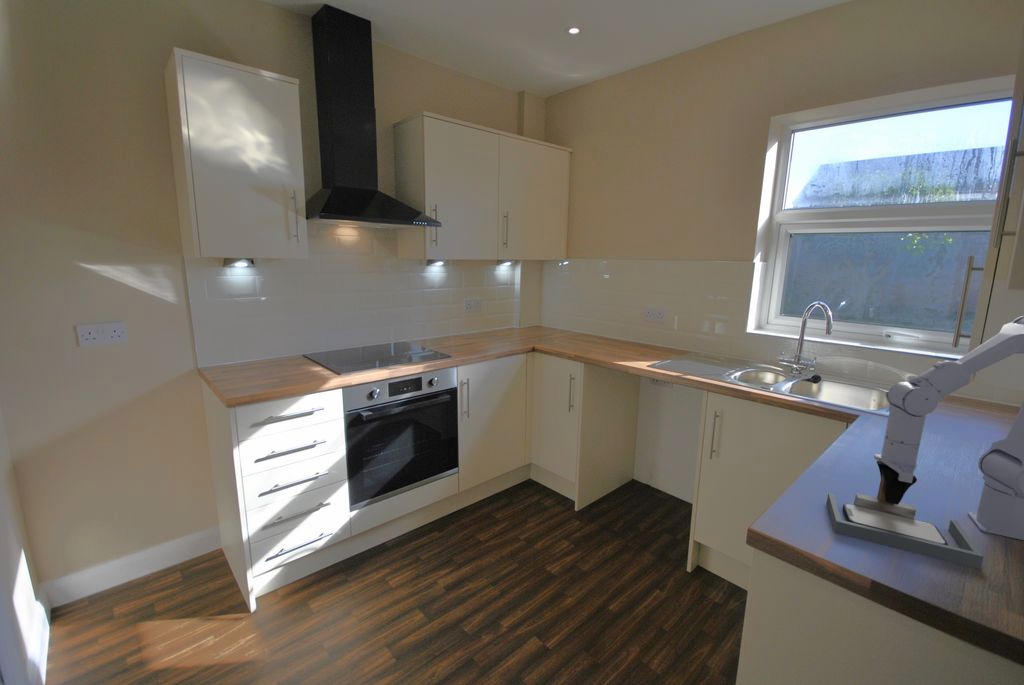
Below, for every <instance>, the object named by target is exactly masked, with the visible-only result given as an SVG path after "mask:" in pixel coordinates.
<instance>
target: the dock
mask: <svg viewBox="0 0 1024 685" xmlns="http://www.w3.org/2000/svg"><path fill="white" fill-rule="evenodd" d="M826 506H827V510H828V513H829V518H830V521H831V525H832V528H833V532H834V534H835V533H836V534H839V535H843V536H847V537H851V538H855V539H859V540H863V541H868V542H870V543H871V542H872V543H874V544H879V545H883V546H887V547H892V548H894V549H900V550H903V551H907V552H911V553H915V554H919V555H923V556H927V557H932V558H935V559H939V560H943V561H947V562H951V563H955V564H959V565H962V566H967V567H971V568H973V569H974V568H976V569H980V570H981V569H982V564H983V561H984V555H983V554H982V553H981V551H980V550H979V549H978V547H977V546H976V544H975V543H974V542H973V540H972V539H971V538H970V536H969V535H968V533H967V532H966V531H965V529H964V528H963V527H962V526H961V524H960V523H959V522H958V520H954V519H950V521H949V526H948V529H947V531H948V533H949V534H950V535H951V537H952V538H953V541H955V543H956V544H957V546H958V547H955V546H951V545H949V544H948V545H943V544H939V543H935V542H931V541H927V540H923V539H918V538H914V537H910V536H906V535H902V534H897V533H893V532H889V531H885V530H881V529H876V528H872V527H868V526H864V525H860V524H855V523H851V522H847V521H846V520H843V519H842V517H841V513H840V510H839V508H838V503H837V501H836V498H835V495H834V493H831V492H828V494H827V498H826Z"/></svg>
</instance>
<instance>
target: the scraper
mask: <svg viewBox="0 0 1024 685" xmlns="http://www.w3.org/2000/svg"><path fill="white" fill-rule="evenodd" d="M877 492H878V493H877V496H876V497H875V496H871V495H866V494H862V493H858V492H856V493H855V497H854V501H853V505H855V506H859V507H864V508H868V509H872V510H876V511H880V512H885V513H889V514H893V515H897V516H902V517H906V518H910V519H914V520H915V515H916V512H917V510H916V508H915V506H914V505H913V504H908V503H903V502H900V503H899V504H898V505H897V504H892V503H888V502H886V501H885V481H884V476H883V473H882V477H881V476H880V482H879V487H878V491H877Z"/></svg>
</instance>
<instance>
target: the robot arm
mask: <svg viewBox="0 0 1024 685" xmlns="http://www.w3.org/2000/svg"><path fill="white" fill-rule="evenodd" d="M1017 354H1021V355H1022V354H1024V315H1022V316H1021V315H1020V316H1018V317H1017V318H1015V319H1013V321H1011V322H1008V323H1006V324H1003V326H1002V327H1001V328H1000V331H999V332H998V333H997V334H995V335H994V336H992V337H991V338H989V339H987V340H986V341H985V342H984V343H982V344H980V345H979V346H977V347H976V348H974V349H972V350H971V351H970V352H968V353H966V354H965V355H963V356H962V357H960V358H959V359H958V360H957V359H956V361H953V360H943V361H937V362H934V363H933V364H932V367H931V368H928V369H927V370H926V371H924V372H922V373H921V374H920V373H919V375H917V376H915V375H914V376H913V377H911V378H910V379H909V381H899V382H897V383H895V384H893V385H892V386H891V387H890V388H889V391H885V399H886V401H887V403H888V404H889V409H888V411H889V414H888V418H887V423H886V429H885V434H884V438H883V444H882V449H881V453H880V454H879V453H874V454H873V458H874V460H876V465H877V467H878V469H879V475H880V478H881V477H882V473H883V476H884V481H885V501H886V502H888V503H892V504H897V505H898V504H899V503H901V502H902V500H903V497H904V495H906V492H907V491H908V490H909V489H910V487H912V486H913V485H914V484H915V483H917V480H918V478H917V477H916V476H915V474H914V472H915V470H916V468H918V467H917V466H918V464H917V461H918V455H919V451H920V445H921V440H922V438H923V437H922V436H923V431H924V426H925V421H926V417H927V415H928V414H931V413H933V412H934V411H935V410H936V409H937V406H938V405H939V403H940V402H941V401H942V399H943V398H946V397H947V396H949V395H951V394H953V393H955V392H957V391H959V390H960V389H962V388H964V387H965V386H968V385H969V384H970V383H971V380H972V379H971V378H972V375H974V374H976V373H978V372H980V371H982V370H984V369H986V368H989V367H991V366H992V365H995V364H996V363H999V362H1000V361H1003V360H1005V359H1006V358H1007V359H1008V358H1009V357H1011V356H1013V355H1017ZM1006 436H1007V437H1006V438H1004V439H1000V440H996V441H994V442H992V443H991V444H990V445H991V446H990V447H989V448H988V449H987V451H985V452H984V453H983V454H982V455H981V456H980V458H979V460H978V462H977V463H978V464H977V465H978V466H977V467H978V469H979V471H980V472H981V473H982V474H983V476H982V479H983V480H984V483H983V486H982V491H981V495H980V499H979V503H978V507H977V511H976V512H975V511H967V515H968V516H969V517H970V519H971V520H972V521H973V522H974V524H975V525H976V526H977V527H978V529H979V530H980V531H982V532H984V533H989V534H993V535H998V536H1003V537H1007V538H1011V539H1017V540H1021V541H1024V401H1023V402H1022V405H1021V406H1020V409H1019V410H1018V413H1017V415H1016V417H1015V420H1014V421H1013V424H1012V425H1011V428H1010V429H1009V432H1008V434H1007V435H1006Z"/></svg>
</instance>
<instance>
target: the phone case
mask: <svg viewBox="0 0 1024 685" xmlns="http://www.w3.org/2000/svg"><path fill="white" fill-rule="evenodd" d="M842 512H843V514H844V517H845V521H847V522H851V523H855V524H860V525H864V526H868V527H872V528H876V529H881V530H885V531H889V532H893V533H897V534H902V535H906V536H910V537H914V538H918V539H923V540H927V541H931V542H935V543H939V544H943V545H948V546H949V544H948V542H947V540H946V539H945V537H944V536H943V535H942V533H941V532H940V530H939V528H938V527H937V526H936V525H934V524H933V523H930V522H926V521H922V520H918V519H915V518H914V519H910V518H906V517H902V516H897V515H893V514H889V513H885V512H880V511H876V510H872V509H868V508H864V507H859V506H855V505H854V504H850V503H844V504H843V505H842Z"/></svg>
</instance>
